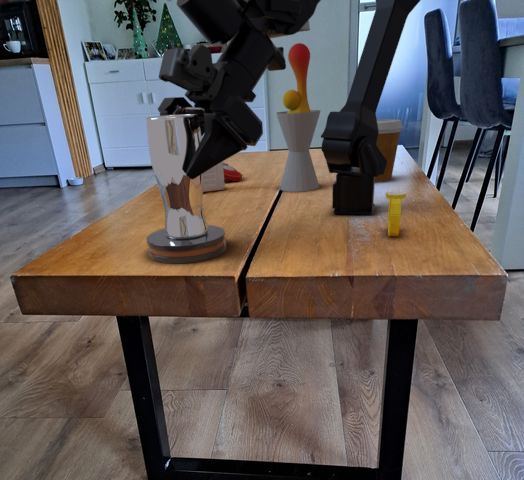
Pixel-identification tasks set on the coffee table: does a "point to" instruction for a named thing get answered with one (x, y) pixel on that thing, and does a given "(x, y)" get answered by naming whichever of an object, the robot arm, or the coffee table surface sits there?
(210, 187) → the photo printer
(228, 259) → the coffee table surface
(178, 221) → the beer glass
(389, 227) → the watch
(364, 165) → the robot arm
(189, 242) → the coaster stack
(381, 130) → the disposable coffee cup
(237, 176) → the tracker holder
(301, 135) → the lava lamp
